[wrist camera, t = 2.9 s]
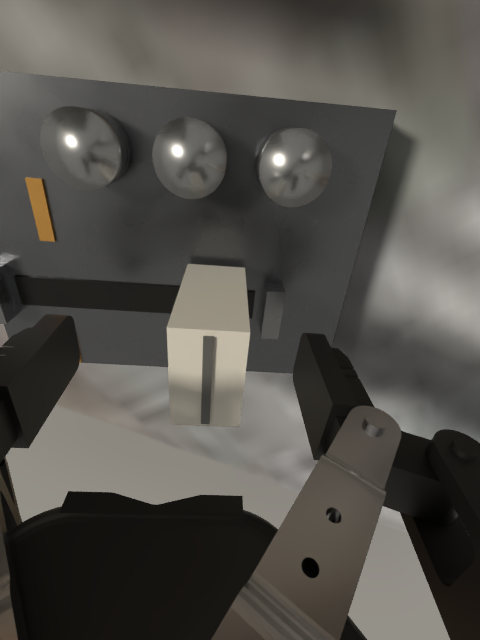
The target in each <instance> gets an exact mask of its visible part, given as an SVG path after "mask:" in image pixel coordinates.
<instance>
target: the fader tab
mask: <svg viewBox="0 0 480 640" xmlns="http://www.w3.org/2000/svg"><path fill="white" fill-rule="evenodd" d="M249 339H250V323H249V311H248V298H247V286H246V274H245V268H242V267H228V266H213V265H199V264H188V265H187V268H186V271H185V274H184V277H183V280H182V283H181V286H180V289H179V292H178V295H177V298H176V301H175V304H174V307H173V310H172V313H171V316H170V319H169V322H168V325H167V348H168V372H169V395H170V419H171V424H173V425H197V426H221V427H239V426H240V417H241V409H242V400H243V391H244V383H245V374H246V365H247V357H248V348H249Z"/></svg>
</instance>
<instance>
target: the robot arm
mask: <svg viewBox="0 0 480 640" xmlns="http://www.w3.org/2000/svg"><path fill="white" fill-rule="evenodd" d="M79 362H80V350H79V345H78V339H77V334H76V328H75V323H74V319H73V317H72V316H68V315H53V314H46V315H44V316H43V317H42V318H41V319H40V320H39V321H38V322H37V323H36V324H35V325H34V326H33V327H32V328H30V327H28V328H26V329H24V330H22V331H20V332H19V333H17V334H15V335H13V336H12V337H11V338H10V339H9V340H8V341H7V342H6V343H5V344H4V345H2V348H0V640H367V639H366V638H365V636H364V635H363V634H362V632H361V631H360V630H359V629H358V627H357V626H356V625H355V624H354V622H353V621H352V620H351V619H350V617H349V616H348V613H349V609H350V606H351V603H352V600H353V597H354V594H355V591H356V588H357V584H358V581H359V578H360V575H361V572H362V569H363V565H364V562H365V559H366V556H367V553H368V550H369V547H370V544H371V540H372V537H373V534H374V531H375V528H376V525H377V522H378V519H379V515H380V512H381V509H382V506H385V507H387V508H390V509H393V510H396V511H399V512H400V513H401V516H402V519H403V521H404V524H405V526H406V529H407V531H408V534H409V536H410V539H411V541H412V544H413V546H414V549H415V551H416V554H417V556H418V559H419V561H420V564H421V567H422V569H423V572H424V574H425V576H426V579H427V582H428V584H429V587H430V589H431V592H432V594H433V597H434V599H435V602H436V604H437V607H438V609H439V612H440V615H441V617H442V619H443V622H444V625H445V627H446V630H447V632H448V635H449V637H450V640H480V443H478V442H477V441H476V440H474V439H473V438H471V437H469V436H467V435H465V434H463V433H460V432H458V431H454V430H440V431H438V432H437V433H436V434H435V435H434V437H433V438H432V440H429V439H426V438H422V437H419V436H415V435H412V434H409V433H406V432H403V431H401V429H400V427H399V425H398V424H397V422H396V421H395V420H394V419H393V418H392V417H391V416H390V415H388V414H387V413H385V412H384V411H382V410H380V409H377V408H375V407H374V406H373V404H372V402H371V400H370V398H369V396H368V394H367V392H366V391H365V389H364V387H363V385H362V383H361V381H360V379H359V378H358V375H357V374H356V372H355V370H353V366H352V364H351V362H350V360H349V359H348V357H347V356H346V355H344V354H343V353H342V352H341V351H340V350H339V349H337V348H331V346H330V344H329V342H328V340H327V338H326V336H325V335H324V334H317V333H303V334H302V335H301V338H300V343H299V347H298V351H297V355H296V359H295V364H294V369H293V382H294V386H295V390H296V394H297V398H298V401H299V405H300V409H301V413H302V417H303V420H304V424H305V428H306V432H307V436H308V439H309V443H310V447H311V451H312V455H313V458H314V460H319V461H318V462H317V464H316V466H315V467H314V469H313V471H312V473H311V474H310V476H309V478H308V480H307V481H306V483H305V485H304V486H303V488H302V490H301V492H300V493H299V495H298V497H297V498H296V500H295V502H294V504H293V505H292V507H291V509H290V511H289V512H288V514H287V516H286V517H285V519H284V521H283V523H282V524H281V526H280V528H279V529H277V528H276V527H274V526H273V525H272V524H270V523H269V522H268V521H266V520H264V519H263V518H261V517H259V516H257V515H255V514H253V513H250V512H248V511H245V510H243V504H242V503H243V502H242V496H219V495H199V496H194V497H190V498H185V499H181V500H177V501H172V502H168V503H164V504H159V505H152V504H149V503H145V502H142V501H138V500H135V499H132V498H129V497H125V496H122V495H119V494H116V493H108V492H71V491H69V492H68V494H67V496H66V498H65V501H64V503H63V505H62V507H58V508H55V509H51V510H48V511H45V512H43V513H41V514H38V515H36V516H34V517H32V518H30V519H28V520H26V521H24V522H22V519H21V516H20V513H19V509H18V504H17V500H16V496H15V492H14V488H13V483H12V479H11V475H10V471H9V467H8V463H7V460H6V457H5V456H6V454H7V453H8V451H9V450H10V448H12V447H13V448H29V446H30V445H31V443H32V442H33V440H34V438H35V437H36V435H37V434H38V432H39V430H40V428H41V427H42V426H43V424H44V422H45V421H46V419H47V417H48V416H49V414H50V412H51V411H52V409H53V408H54V406H55V405H56V403H57V401H58V400H59V398H60V397H61V395H62V393H63V392H64V390H65V389H66V387H67V385H68V384H69V382H70V381H71V379H72V377H73V376H74V374H75V372H76V371H77V369H78V366H79ZM462 523H463V524H462ZM468 534H469V535H468Z"/></svg>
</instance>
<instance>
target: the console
mask: <svg viewBox="0 0 480 640" xmlns="http://www.w3.org/2000/svg"><path fill="white" fill-rule="evenodd" d="M396 111H397V110H387V109H377V108H367V107H357V106H347V105H337V104H327V103H317V102H307V101H296V100H286V99H276V98H266V97H256V96H246V95H236V94H226V93H216V92H206V91H196V90H186V89H175V88H165V87H155V86H145V85H135V84H125V83H115V82H105V81H95V80H85V79H75V78H65V77H54V76H44V75H34V74H24V73H14V72H4V71H0V324H4V326H5V329H6V332H7V335H8V337H9V339H10V338H11V337H12V336H13V335H15V334H17V333H19V332H20V331H22V330H24V329H26V328H28V327H30V328H32V327H33V326H34V325H35V324H36V323H37V322H38V321H39V320H40V319H41V318H42V317H43V316H44V315H46V314H53V315H68V316H72V317H73V319H74V323H75V328H76V334H77V339H78V345H79V350H80V362H81V363H101V364H120V365H140V366H159V367H168V348H167V325H168V322H169V319H170V316H171V313H172V310H173V307H174V304H175V301H176V298H177V295H178V292H179V289H180V286H181V283H182V280H183V277H184V274H185V271H186V268H187V265H188V264H199V265H213V266H228V267H242V268H245V274H246V286H247V298H248V311H249V323H250V339H249V348H248V357H247V365H246V371H257V372H277V373H293V369H294V364H295V359H296V355H297V351H298V347H299V343H300V338H301V335H302V334H303V333H317V334H324V335H325V336H326V338H327V340H328V342H329V344H330V346H332V343H333V339H334V336H335V332H336V328H337V325H338V321H339V317H340V314H341V310H342V307H343V303H344V299H345V296H346V292H347V288H348V285H349V281H350V278H351V274H352V270H353V267H354V263H355V259H356V256H357V252H358V249H359V245H360V241H361V238H362V234H363V230H364V227H365V223H366V220H367V216H368V212H369V209H370V205H371V201H372V198H373V194H374V191H375V187H376V183H377V180H378V176H379V172H380V169H381V165H382V162H383V158H384V154H385V151H386V147H387V143H388V140H389V136H390V133H391V129H392V125H393V122H394V118H395V114H396Z"/></svg>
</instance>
